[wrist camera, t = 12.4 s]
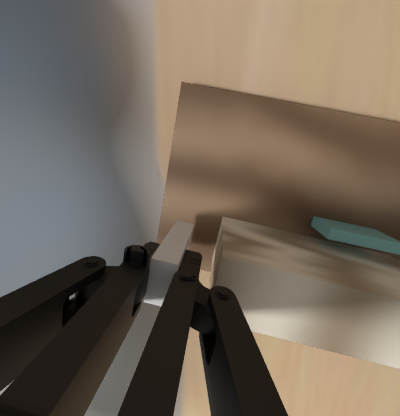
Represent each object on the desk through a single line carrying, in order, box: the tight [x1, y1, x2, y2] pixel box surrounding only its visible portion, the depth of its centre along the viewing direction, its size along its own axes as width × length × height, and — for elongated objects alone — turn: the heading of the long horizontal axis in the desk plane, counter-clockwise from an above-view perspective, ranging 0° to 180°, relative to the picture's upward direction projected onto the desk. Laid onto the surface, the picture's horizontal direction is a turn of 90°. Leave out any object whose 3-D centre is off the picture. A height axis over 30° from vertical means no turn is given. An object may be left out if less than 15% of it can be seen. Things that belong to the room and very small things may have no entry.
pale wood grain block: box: [209, 216, 400, 369], centre depth 15 cm, size 14×4×8 cm, turn 78°
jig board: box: [157, 82, 400, 272], centre depth 18 cm, size 15×28×1 cm, turn 79°
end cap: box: [311, 216, 400, 255], centre depth 17 cm, size 7×5×3 cm
